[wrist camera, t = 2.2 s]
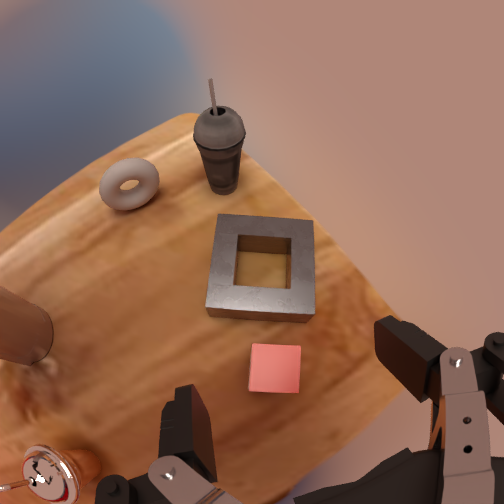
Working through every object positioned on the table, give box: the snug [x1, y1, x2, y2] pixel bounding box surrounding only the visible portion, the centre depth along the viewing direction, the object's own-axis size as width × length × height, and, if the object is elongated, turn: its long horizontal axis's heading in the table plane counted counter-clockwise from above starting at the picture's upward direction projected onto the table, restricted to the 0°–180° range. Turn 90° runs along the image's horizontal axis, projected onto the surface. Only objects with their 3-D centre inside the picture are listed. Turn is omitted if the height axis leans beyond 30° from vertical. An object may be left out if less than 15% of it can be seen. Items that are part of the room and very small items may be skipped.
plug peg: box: [248, 343, 301, 393], centre depth 30 cm, size 4×4×12 cm
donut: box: [99, 158, 160, 210], centre depth 42 cm, size 10×3×10 cm, turn 117°
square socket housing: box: [205, 214, 315, 323], centre depth 39 cm, size 13×13×5 cm
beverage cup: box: [193, 79, 246, 195], centre depth 39 cm, size 7×7×20 cm
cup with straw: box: [0, 444, 101, 504], centre depth 18 cm, size 8×9×20 cm
